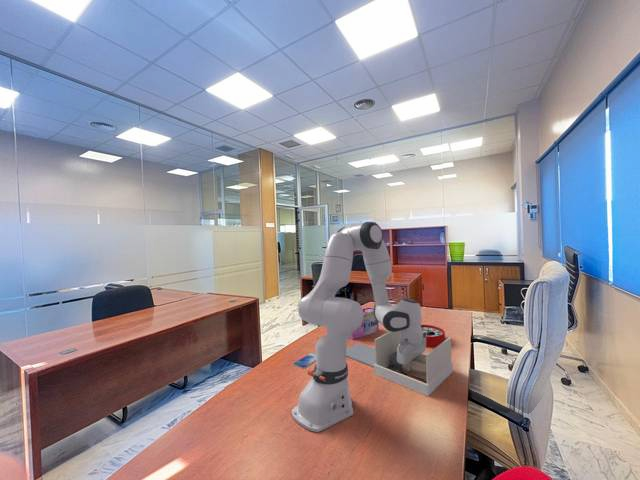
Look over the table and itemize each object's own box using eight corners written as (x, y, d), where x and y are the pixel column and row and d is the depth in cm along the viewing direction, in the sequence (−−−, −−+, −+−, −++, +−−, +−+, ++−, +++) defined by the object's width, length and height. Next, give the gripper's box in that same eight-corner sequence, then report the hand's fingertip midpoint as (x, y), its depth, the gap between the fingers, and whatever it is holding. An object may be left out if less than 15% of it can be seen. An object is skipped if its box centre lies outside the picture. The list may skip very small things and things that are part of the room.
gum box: (351, 340, 154) (350, 317, 154) (342, 336, 161) (341, 314, 160) (379, 331, 168) (378, 309, 168) (370, 327, 174) (369, 307, 174)
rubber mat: (377, 369, 120) (377, 367, 120) (338, 353, 137) (338, 352, 137) (396, 357, 131) (396, 356, 131) (357, 344, 148) (357, 343, 148)
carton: (427, 396, 99) (426, 356, 99) (374, 373, 116) (373, 339, 116) (453, 371, 116) (452, 337, 116) (402, 354, 133) (402, 325, 133)
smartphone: (322, 355, 135) (303, 368, 122) (322, 357, 135) (303, 369, 122) (311, 352, 139) (292, 363, 127) (311, 353, 139) (292, 365, 127)
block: (430, 383, 107) (430, 368, 107) (391, 368, 120) (391, 355, 120) (437, 377, 112) (436, 362, 112) (398, 363, 125) (398, 350, 125)
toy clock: (412, 336, 142) (403, 324, 162) (412, 347, 142) (403, 334, 162) (450, 336, 140) (437, 324, 160) (451, 347, 141) (437, 333, 160)
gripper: (406, 345, 107) (407, 379, 107) (428, 331, 121) (429, 361, 121) (392, 341, 111) (393, 373, 112) (415, 328, 126) (416, 357, 126)
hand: (412, 367), depth 116 cm, fingers closed on block, 5 cm apart
